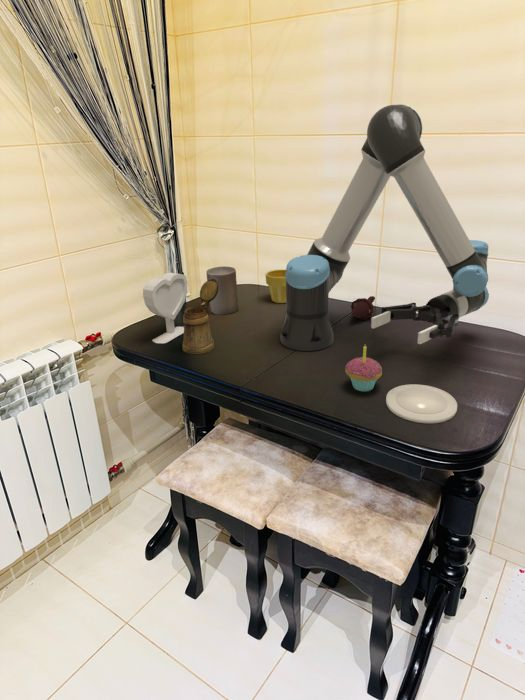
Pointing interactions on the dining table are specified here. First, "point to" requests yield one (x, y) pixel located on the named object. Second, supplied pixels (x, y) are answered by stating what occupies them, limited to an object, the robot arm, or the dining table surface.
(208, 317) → the wooden mug
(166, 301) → the heart sculpture
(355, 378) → the cupcake
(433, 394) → the saucer
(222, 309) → the pillar candle
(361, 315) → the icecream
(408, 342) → the dining table surface
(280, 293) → the plant pot
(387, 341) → the dining table surface
